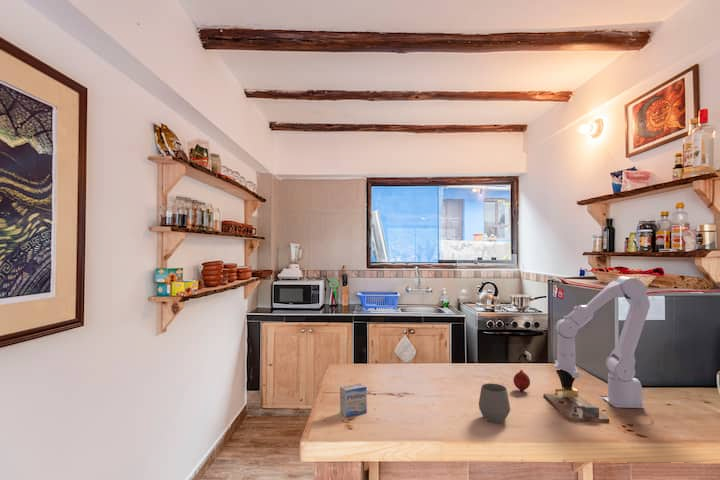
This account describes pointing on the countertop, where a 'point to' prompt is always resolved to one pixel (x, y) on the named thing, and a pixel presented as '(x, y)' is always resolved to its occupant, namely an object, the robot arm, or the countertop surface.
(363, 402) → the medicine box
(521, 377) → the onion
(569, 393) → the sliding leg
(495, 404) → the cup
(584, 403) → the gauge board
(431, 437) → the countertop surface
